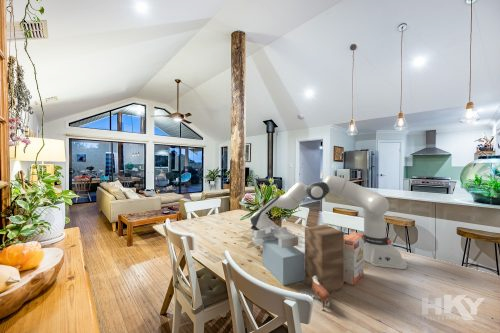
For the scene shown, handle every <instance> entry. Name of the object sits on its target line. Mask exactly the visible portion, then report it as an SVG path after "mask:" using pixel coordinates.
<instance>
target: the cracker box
mask: <svg viewBox="0 0 500 333" xmlns="http://www.w3.org/2000/svg"><path fill="white" fill-rule="evenodd" d="M364 261H365V260H364V234H363V233H360V232H355V231H353V232H351V233H349V234H348V235H347V236H345V237H344V276H343V283H346V284H349V285H352V286H355V285H356V284H357V282H359V280H360V279H361V278H362V277H363V275H364V265H365V264H364Z"/></svg>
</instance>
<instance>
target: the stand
mask: <svg viewBox="0 0 500 333" xmlns="http://www.w3.org/2000/svg"><path fill="white" fill-rule="evenodd" d="M344 234H345V232H344V231H343V230H340V229H337V228H335V227H333V226H329V225H327V224H322V225H321V224H320V225H314V226H307V227H304V254H305V280H304V282H305V283H306V284H307V285H309V287H311V288H312V281H313V279H310V277H313V276H317V278H318V279H321V280H320V281H319V280H318V282H319V283H320V284H321V285H322V286H323V287H324V288H325V289H326V290H327V292H328V293H329V294H332V293H335V292H339V291H342V290H344V282H343V276H344V238H345V237H344Z"/></svg>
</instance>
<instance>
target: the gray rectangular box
mask: <svg viewBox="0 0 500 333" xmlns="http://www.w3.org/2000/svg"><path fill="white" fill-rule="evenodd" d="M262 266H263V267H265V269H266V270H267V271H269V273H270V274H271V275H272V276H273V278H275V279H276V280H277V281H278V282H279V283H280V284H281V285H282V286H286V285H287V286H288V285H291V284H295V283H299V282H302V281H305V252H303V251H301V250H300V249H298V248H297V247H296V246H291V247H285V248H281V247H279V246H278V239H276V240H270V241H264V242H263V245H262Z"/></svg>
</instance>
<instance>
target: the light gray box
mask: <svg viewBox="0 0 500 333" xmlns="http://www.w3.org/2000/svg"><path fill="white" fill-rule="evenodd" d="M281 227H282V226H279V225H277V224H276V223H275V225H270V229H273V232H271V234H273V235H274V236H276V237H277V238H278V246H279V247H281V248H285V247H291V246H294V247H296V246H299V236H298V235H295V234H294V233H292V232H290V231H288V229H287V230H285V229H283V228H281Z"/></svg>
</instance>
